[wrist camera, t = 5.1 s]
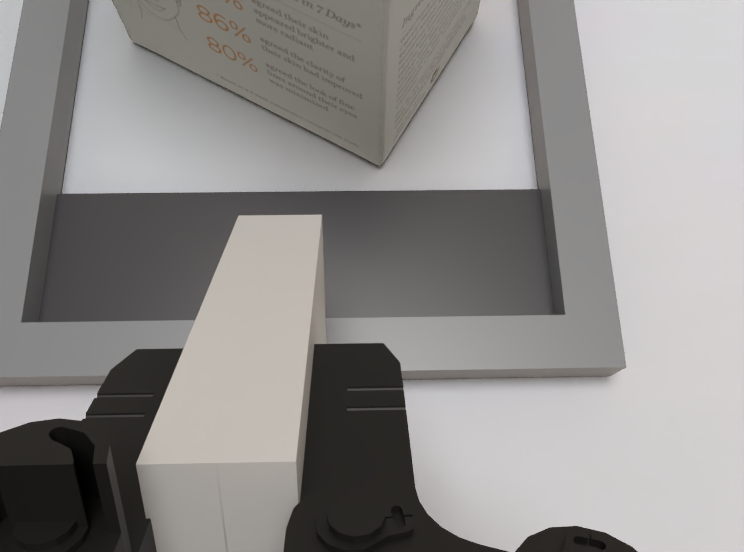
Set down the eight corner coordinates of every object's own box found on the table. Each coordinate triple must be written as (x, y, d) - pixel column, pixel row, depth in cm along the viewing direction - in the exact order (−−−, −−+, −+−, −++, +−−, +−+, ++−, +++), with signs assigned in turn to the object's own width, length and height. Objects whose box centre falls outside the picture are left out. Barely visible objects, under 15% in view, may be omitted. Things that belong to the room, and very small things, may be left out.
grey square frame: (-20, 386, 16) (-45, 378, 15) (65, -121, 21) (50, -151, 20) (610, 375, 16) (626, 367, 15) (543, -120, 21) (552, -150, 20)
